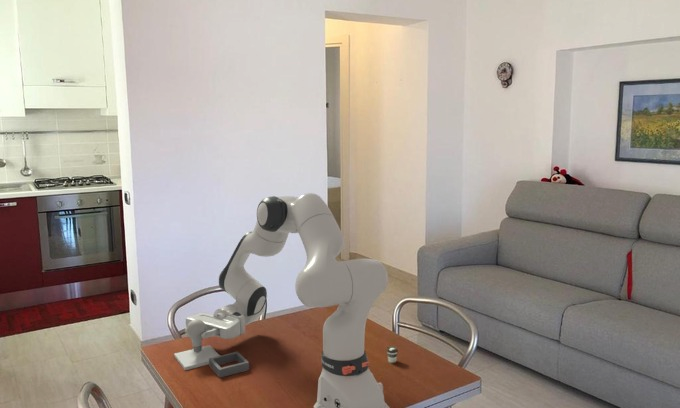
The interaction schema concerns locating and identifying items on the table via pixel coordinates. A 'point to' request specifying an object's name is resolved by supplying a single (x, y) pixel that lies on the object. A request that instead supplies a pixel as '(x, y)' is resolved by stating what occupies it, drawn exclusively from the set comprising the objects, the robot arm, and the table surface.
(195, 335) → the lightbulb
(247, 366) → the frame
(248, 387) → the table surface
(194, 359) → the mat
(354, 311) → the robot arm
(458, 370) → the table surface
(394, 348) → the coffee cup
